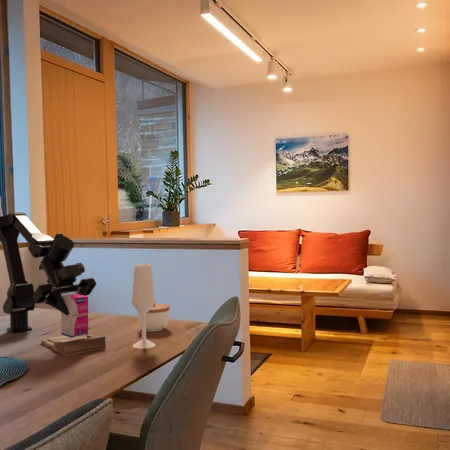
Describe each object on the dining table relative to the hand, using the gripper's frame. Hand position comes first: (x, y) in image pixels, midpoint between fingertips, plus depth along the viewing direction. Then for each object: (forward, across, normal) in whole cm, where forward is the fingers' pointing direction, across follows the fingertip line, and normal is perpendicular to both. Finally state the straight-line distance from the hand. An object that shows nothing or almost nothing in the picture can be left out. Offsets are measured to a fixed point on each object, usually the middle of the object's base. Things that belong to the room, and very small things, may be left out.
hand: (77, 312), depth 152 cm
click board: (+5, 0, +10) cm, 11 cm away
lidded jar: (+8, +29, +7) cm, 31 cm away
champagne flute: (+17, +14, -2) cm, 22 cm away
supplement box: (+4, 0, +6) cm, 7 cm away
